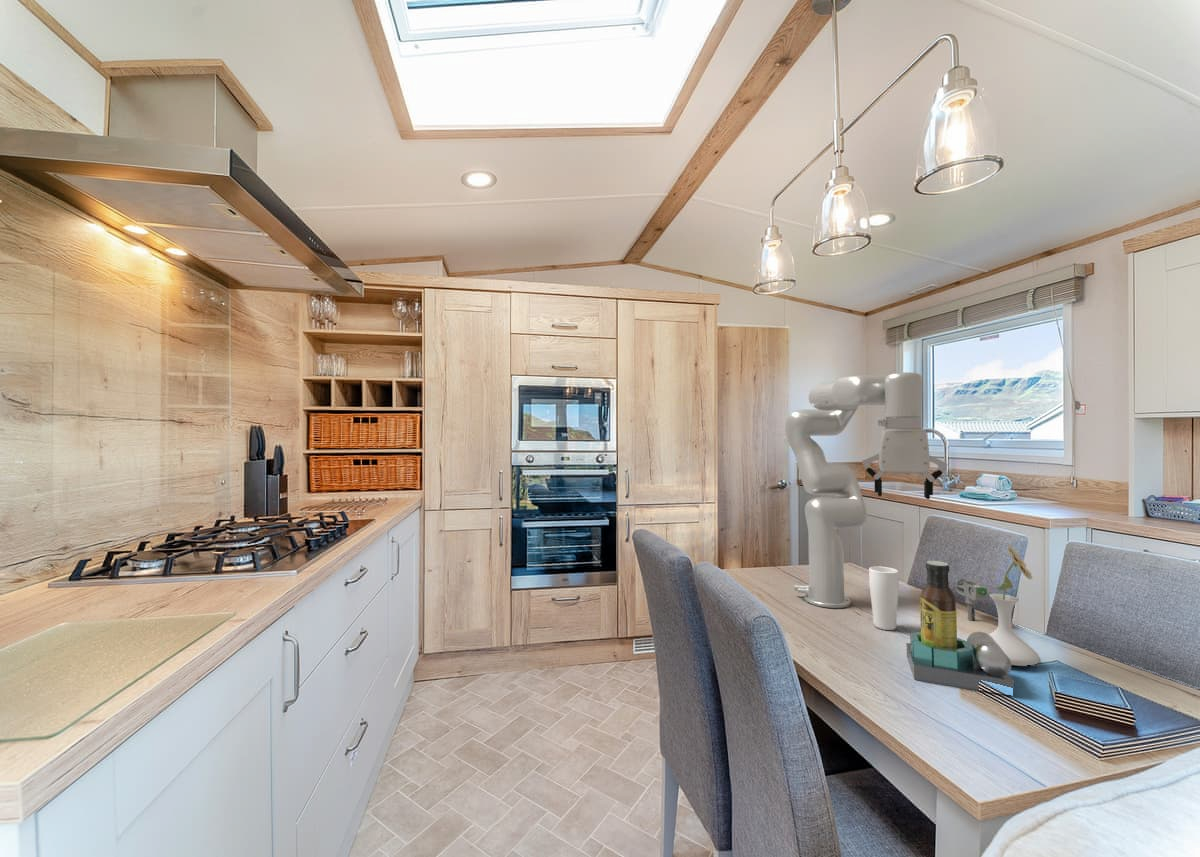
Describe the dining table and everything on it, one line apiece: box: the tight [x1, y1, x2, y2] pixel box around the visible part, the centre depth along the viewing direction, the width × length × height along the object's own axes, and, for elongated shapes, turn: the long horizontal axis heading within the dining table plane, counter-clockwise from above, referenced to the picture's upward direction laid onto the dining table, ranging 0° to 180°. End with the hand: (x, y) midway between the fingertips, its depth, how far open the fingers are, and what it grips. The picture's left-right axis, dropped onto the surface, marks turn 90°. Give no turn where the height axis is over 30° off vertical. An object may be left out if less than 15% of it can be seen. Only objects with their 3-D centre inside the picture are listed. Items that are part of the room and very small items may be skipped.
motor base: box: [906, 631, 1015, 692], centre depth 102 cm, size 16×12×8 cm
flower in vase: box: [988, 544, 1041, 667], centre depth 109 cm, size 13×11×25 cm
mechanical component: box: [955, 578, 988, 621], centre depth 133 cm, size 3×10×10 cm, turn 174°
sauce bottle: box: [919, 560, 958, 650], centre depth 103 cm, size 6×6×20 cm
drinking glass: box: [868, 565, 900, 631], centre depth 128 cm, size 7×7×15 cm
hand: (902, 496), depth 116 cm, fingers open, 9 cm apart
